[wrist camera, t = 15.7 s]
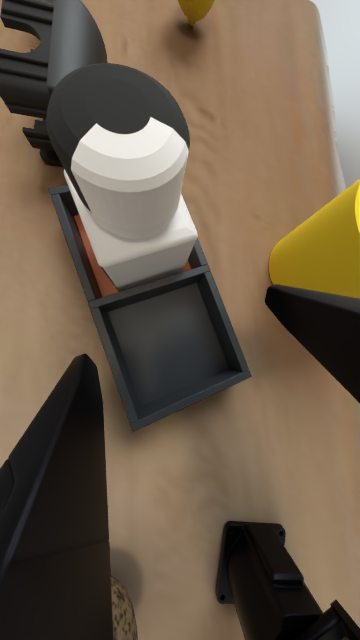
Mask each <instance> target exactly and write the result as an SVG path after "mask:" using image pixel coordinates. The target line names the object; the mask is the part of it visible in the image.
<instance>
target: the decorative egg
mask: <svg viewBox="0 0 360 640" xmlns="http://www.w3.org/2000/svg"><path fill="white" fill-rule="evenodd" d="M111 592H112V614H113V637H114V640H138V635H137V625H136V619H135V614H134V610H133V606H132V603H131V600H130V598H129V595H128V593H127V591H126V590H125V588H124V587H123V586H122V584H121V583H120V582H119V581H117V580H116V579H114V578H112V577H111Z"/></svg>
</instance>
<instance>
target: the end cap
mask: <svg viewBox="0 0 360 640" xmlns="http://www.w3.org/2000/svg"><path fill="white" fill-rule="evenodd" d="M0 17H1V19H2V22H3V24H4V26H5V27H7V28H11V29H16V30H20V31H24V32H28V33H30V34H33V35H34V36H36V37H37V38H38V39H39V40H40V45H39V47H38V48H37V49H36V50H32V49H31V52H29V53H18V52H14V51H9V50H4V49H0V96H1V98H2V99H3V101H4V103H5V104H6V106H7V107H8V109H9V110H10V112H11V113H15V114H21V115H27V116H33V117H39V118H43V121H38V120H35V125H34V129H31V128H25V127H23V130H22V131H23V133H24V134H25V136H26V138H27V139H28V141H29V142H30V144H31V145H32V147H33V148H38V149H40V156H41V158H42V159H43V161H44V162H45V163H46V164H49V165H57V166H63V165H62V163H61V161H60V159H59V157H58V156H57V154H56V152H55V150H54V148H53V146H52V144H51V141H50V138H49V136H48V131H47V123H46V116H47V109H48V105H49V100H50V97H51V94H52V92H53V90H54V88H55V87H56V85H57V84H58V83H59V82H60V80H61V79H62V78H64V77H65V76H66V75H67V74H69V73H70V72H72V71H74V70H76V69H78V68H80V67H83V66H87V65H91V64H99V63H107V54H106V49H105V45H104V42H103V39H102V36H101V33H100V31H99V29H98V27H97V24H96V22H95V20H94V19H93V17H92V15H91V14H90V12H89V11H88V9H87V8H86V7H85V5H84V4H83V3H82V1H81V0H54V4H51V3H48V2H44V1H40V0H2V8H1V15H0Z"/></svg>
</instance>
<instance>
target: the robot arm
mask: <svg viewBox="0 0 360 640" xmlns="http://www.w3.org/2000/svg"><path fill="white" fill-rule="evenodd" d="M265 303H266V305H267V306H268V308H269V309H270V310H271V311H272V312H273V314H274V315H275V316H276V317H277V319H278V320H279V321H280V322H281V324H282V325H283V326H284V327H285V328H286V329H287V330H288V331H289V332H290V333H291V334H292V335H293V336H294V337H295V338H296V339H297V340H298V341H299V342H300V343H301V344H302V345H303V346H304V347H305V348H306V349H307V350H308V351H309V352H310V353H311V354H312V355H313V356H314V357H315V358H316V359H317V360H318V361H319V362H320V363H321V365H322V366H323V367H324V368H325V369H326V370H327V371H328V372H329V373H330V374H331V375H332V376H333V377H334V378H335V379H336V380H337V381H338V382H339V383H340V384H341V385H342V386H343V387H344V388H345V389H346V390H347V391H348V392H349V393H350V394H351V395H352V396H353V397H354V398H355V399H356V400H357V401H358V402H359V403H360V298H354V297H348V296H343V295H337V294H331V293H325V292H319V291H313V290H308V289H302V288H296V287H290V286H284V285H279V284H275V285H272V286H270V287H268V289H267V293H266V297H265ZM230 528H231V529H230ZM108 540H109V528H108V505H107V482H106V460H105V437H104V415H103V400H102V394H101V388H100V382H99V376H98V371H97V367H96V365H95V363H94V362H93V361H92V360H91V359H90V357H89V356H88V355H87V354H82V355H79V356H77V357H75V358H74V359H73V361H72V362H71V364H70V365H69V367H68V368H67V370H66V371H65V373H64V374H63V376H62V377H61V379H60V380H59V382H58V383H57V385H56V386H55V388H54V389H53V391H52V392H51V394H50V395H49V397H48V398H47V400H46V401H45V403H44V404H43V406H42V407H41V409H40V410H39V412H38V413H37V415H36V416H35V418H34V419H33V421H32V422H31V424H30V425H29V427H28V428H27V430H26V431H25V433H24V434H23V436H22V437H21V439H20V440H19V442H18V443H17V445H16V446H15V448H14V449H13V451H12V452H11V454H10V455H9V459H7V460H6V461H5V463H4V464H3V466H2V467H1V469H0V640H114V637H113V614H112V592H111V569H110V547H109V541H108ZM284 544H285V530H284V528H283V527H282V525H281V524H273V523H256V522H239V521H228V522H227V523H226V524H225V529H224V537H223V544H222V551H221V559H220V566H219V574H218V581H217V589H216V595H217V599H218V602H219V603H221V604H234V605H235V608H236V611H237V614H238V618H239V621H240V624H241V627H242V631H243V634H244V637H245V640H360V628H359V627H358V626H357V624H356V623H355V622H354V621H353V620H352V618H351V617H350V616H349V615H348V613H347V612H346V611H345V610H344V608H343V607H342V606H341V605H340V604H339V602H338V601H337V600H335V601H334V602H332V603H331V607H330V608H329V609H328V610H327V611H325V612H324V613H323V612H322V610H321V609H320V607H319V605H318V604H317V602H316V601H315V599H314V597H313V596H312V594H311V593H310V591H309V589H308V588H307V586H306V585H305V583H304V577H303V575H302V574H301V572H300V571H299V569H298V567H297V566H296V564H295V563H294V561H293V559H292V558H291V556H290V555H289V553H288V552H287V550H286V548H285V547H284Z"/></svg>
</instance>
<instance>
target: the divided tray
mask: <svg viewBox="0 0 360 640" xmlns="http://www.w3.org/2000/svg"><path fill="white" fill-rule="evenodd" d="M48 190H49V192H50V195H51V198H52V201H53V204H54V207H55V210H56V212H57V215H58V218H59V221H60V224H61V227H62V230H63V233H64V235H65V238H66V241H67V244H68V247H69V250H70V253H71V255H72V258H73V261H74V264H75V267H76V270H77V273H78V275H79V278H80V281H81V284H82V287H83V290H84V293H85V295H86V298H87V301H88V304H89V307H90V309H91V313H92V316H93V319H94V322H95V324H96V327H97V330H98V333H99V336H100V339H101V342H102V345H103V347H104V350H105V353H106V356H107V359H108V362H109V365H110V367H111V370H112V373H113V376H114V379H115V382H116V385H117V387H118V390H119V393H120V396H121V399H122V402H123V405H124V408H125V410H126V413H127V416H128V419H129V422H130V423H131V424H130V425H131V427H132V430H133V432H134V431H136V430H138V429H140V428H142V427H145V426H147V425H149V424H151V423H153V422H155V421H157V420H160V419H162V418H164V417H166V416H168V415H170V414H172V413H175V412H177V411H179V410H181V409H183V408H185V407H187V406H190V405H192V404H194V403H196V402H198V401H200V400H202V399H204V398H207V397H209V396H211V395H213V394H215V393H217V392H219V391H222V390H224V389H226V388H228V387H230V386H232V385H234V384H237V383H239V382H241V381H243V380H245V379H247V378H249V377H251V373H250V371H249V370H248V369H249V368H248V366H247V363H246V361H245V358H244V356H243V353H242V350H241V348H240V345H239V343H238V340H237V338H236V335H235V332H234V330H233V327H232V325H231V322H230V320H229V317H228V315H227V312H226V309H225V307H224V304H223V302H222V299H221V297H220V294H219V291H218V289H217V286H216V284H215V281H214V279H213V276H212V273H211V271H210V268H209V266H208V265H207V264H208V263H207V261H206V258H205V256H204V253H203V251H202V248H201V245H200V243H199V240H198V238H197V239H196V241H195V244H194V246H193V248H192V251H191V253H190V255H189V258H188V260H187V262H186V264H185V267H184V269H183V271H182V273H179V274H176V275H172V276H169V277H166V278H163V279H160V280H156V281H153V282H150V283H147V284H144V285H140V286H137V287H134V288H131V289H127V290H124V291H121V292H118V290H117V289H116V288H115V286H114V285H113V284H112V282H111V281H110V279H109V278H108V277H107V275H106V274H105V272H104V271H103V270H102V268H101V267H100V265H99V264H98V262H97V259H96V257H95V254H94V252H93V249H92V246H91V244H90V241H89V238H88V236H87V233H86V231H85V228H84V225H83V223H82V220H81V218H80V215H79V212H78V210H77V207H76V205H75V202H74V199H73V197H72V194H71V191H70V189H69V186H68V185H63V186H57V187H52V188H48Z"/></svg>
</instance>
